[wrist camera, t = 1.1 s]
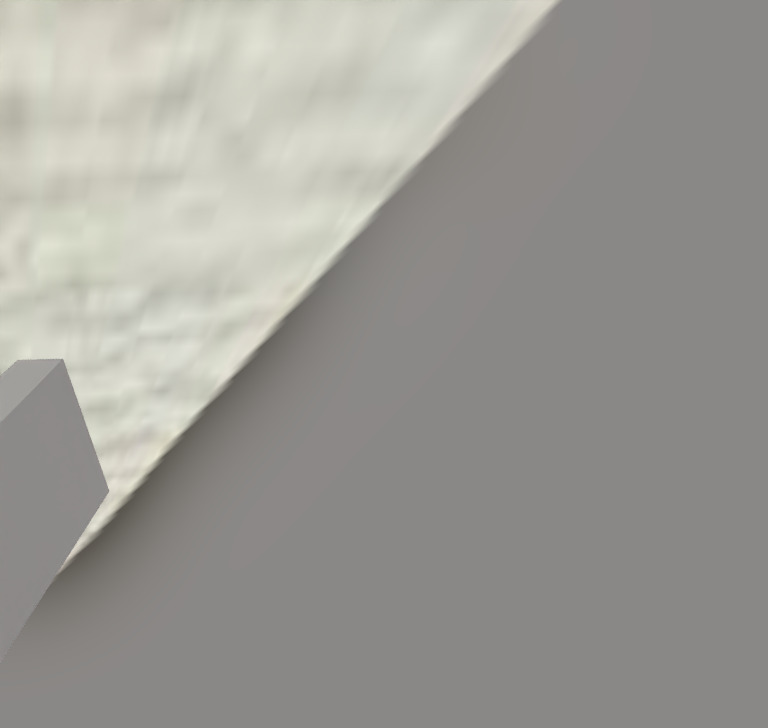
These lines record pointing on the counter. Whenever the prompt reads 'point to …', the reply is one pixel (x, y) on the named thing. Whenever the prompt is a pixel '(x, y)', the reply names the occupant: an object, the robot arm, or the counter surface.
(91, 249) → the counter surface
